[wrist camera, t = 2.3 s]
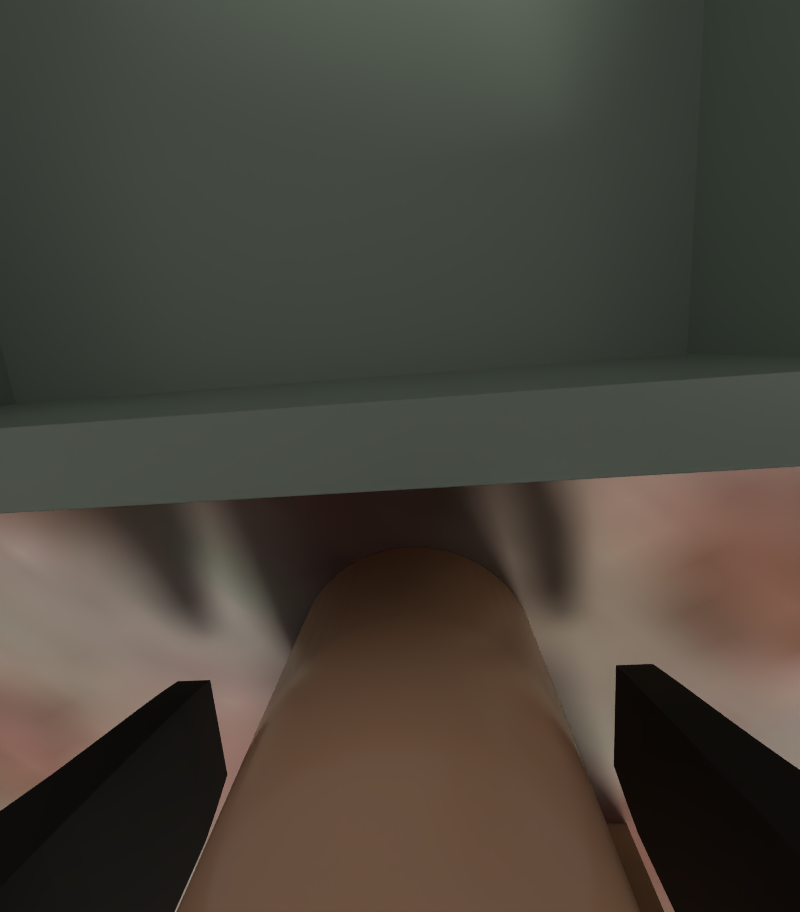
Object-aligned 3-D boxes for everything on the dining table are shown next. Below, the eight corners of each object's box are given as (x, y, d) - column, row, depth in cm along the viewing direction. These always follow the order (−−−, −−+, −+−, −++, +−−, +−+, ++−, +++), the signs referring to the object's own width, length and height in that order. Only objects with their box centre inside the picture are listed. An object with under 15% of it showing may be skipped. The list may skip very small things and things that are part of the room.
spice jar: (532, 541, 10) (794, 1003, 3) (536, 751, 11) (733, 1458, 4) (288, 553, 10) (-8, 997, 3) (315, 757, 11) (138, 1421, 4)
